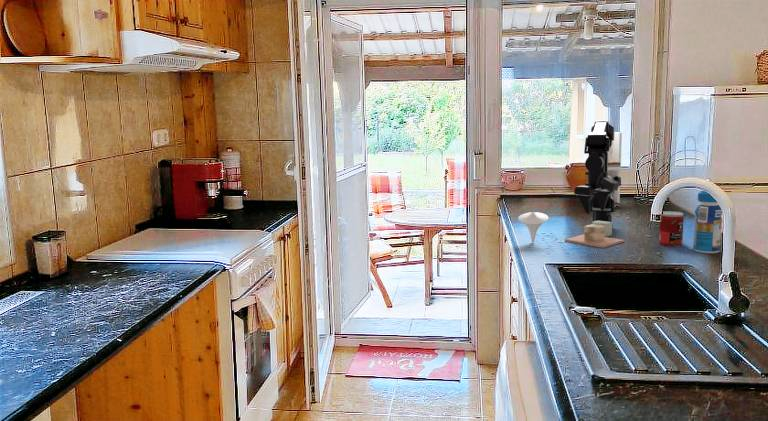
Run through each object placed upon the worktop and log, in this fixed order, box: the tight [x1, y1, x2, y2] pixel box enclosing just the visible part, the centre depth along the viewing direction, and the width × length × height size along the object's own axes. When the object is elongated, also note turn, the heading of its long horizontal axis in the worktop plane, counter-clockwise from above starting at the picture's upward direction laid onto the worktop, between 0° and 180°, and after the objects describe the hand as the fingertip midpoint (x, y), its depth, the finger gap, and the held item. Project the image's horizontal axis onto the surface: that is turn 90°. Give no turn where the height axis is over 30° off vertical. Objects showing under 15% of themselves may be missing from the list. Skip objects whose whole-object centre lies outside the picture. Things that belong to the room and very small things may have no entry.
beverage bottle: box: [692, 190, 723, 254], centre depth 221 cm, size 8×8×20 cm
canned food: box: [658, 210, 685, 247], centre depth 234 cm, size 8×8×11 cm
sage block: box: [591, 220, 613, 237], centre depth 253 cm, size 6×4×5 cm, turn 40°
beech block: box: [584, 223, 605, 242], centre depth 241 cm, size 5×5×5 cm
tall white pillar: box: [589, 131, 623, 208], centre depth 317 cm, size 11×11×35 cm
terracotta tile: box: [564, 234, 625, 249], centre depth 242 cm, size 16×13×1 cm
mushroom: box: [517, 210, 549, 244], centre depth 242 cm, size 10×11×12 cm
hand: (595, 211), depth 240 cm, fingers open, 9 cm apart
